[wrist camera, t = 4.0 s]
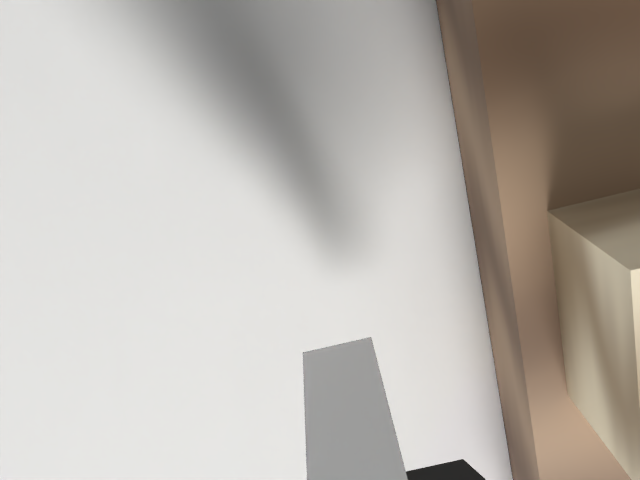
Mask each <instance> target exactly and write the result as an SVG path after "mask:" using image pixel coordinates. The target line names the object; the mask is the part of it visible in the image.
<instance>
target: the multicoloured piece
mask: <svg viewBox="0 0 640 480" xmlns="http://www.w3.org/2000/svg"><path fill="white" fill-rule="evenodd" d="M436 3H437V9H438V15H439V21H440V28H441V34H442V40H443V46H444V53H445V59H446V65H447V71H448V77H449V84H450V90H451V96H452V102H453V108H454V115H455V121H456V127H457V133H458V140H459V146H460V152H461V158H462V164H463V171H464V177H465V183H466V189H467V195H468V202H469V208H470V214H471V220H472V227H473V233H474V239H475V245H476V251H477V258H478V264H479V270H480V276H481V283H482V289H483V295H484V301H485V307H486V314H487V320H488V326H489V332H490V338H491V345H492V351H493V357H494V363H495V370H496V376H497V382H498V388H499V394H500V401H501V407H502V413H503V419H504V425H505V432H506V438H507V444H508V450H509V457H510V463H511V469H512V475H513V480H632V479H631V478H630V477H629V476H628V474H627V473H626V472H625V470H624V469H623V468H622V466H621V465H620V464H619V462H618V461H617V460H616V458H615V457H614V456H613V454H612V453H611V452H610V450H609V449H608V448H607V446H606V445H605V444H604V442H603V441H602V440H601V438H600V437H599V436H598V434H597V433H596V432H595V430H594V429H593V428H592V426H591V425H590V424H589V422H588V421H587V420H586V418H585V417H584V416H583V414H582V413H581V412H580V410H579V409H578V408H577V407H576V405H575V404H574V403H573V401H572V400H571V399H570V397H569V396H568V391H567V382H566V373H565V364H564V356H563V347H562V338H561V330H560V321H559V312H558V303H557V295H556V286H555V277H554V268H553V260H552V251H551V242H550V233H549V225H548V216H547V211H549V210H553V209H557V208H561V207H565V206H569V205H574V204H578V203H582V202H586V201H590V200H594V199H599V198H603V197H607V196H611V195H615V194H619V193H624V192H628V191H632V190H636V189H640V0H436Z"/></svg>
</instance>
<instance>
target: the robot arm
mask: <svg viewBox="0 0 640 480" xmlns="http://www.w3.org/2000/svg"><path fill="white" fill-rule="evenodd" d="M303 374H304V404H305V434H306V464H307V480H485V478H483V477H482V476H481V475H480V474H479V473H478V472H477V471H476V470H474V469H473V468H472V467H471V466H470V465H469V464H468V463H467V462H466V461H464V460H463V459H462V460H457V461H453V462H448V463H443V464H439V465H434V466H430V467H425V468H421V469H416V470H411V471H407V472H406V471H405V467H404V463H403V459H402V455H401V452H400V448H399V444H398V440H397V436H396V432H395V428H394V424H393V420H392V417H391V413H390V409H389V405H388V401H387V397H386V393H385V389H384V386H383V382H382V378H381V374H380V370H379V366H378V362H377V358H376V354H375V351H374V347H373V343H372V339H371V337H369V338H365V339H361V340H356V341H352V342H347V343H343V344H339V345H334V346H330V347H325V348H321V349H317V350H312V351H308V352H303Z"/></svg>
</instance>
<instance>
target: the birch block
mask: <svg viewBox="0 0 640 480" xmlns="http://www.w3.org/2000/svg"><path fill="white" fill-rule="evenodd" d="M547 216H548V225H549V233H550V242H551V251H552V260H553V268H554V277H555V286H556V295H557V303H558V312H559V321H560V330H561V338H562V347H563V356H564V364H565V373H566V382H567V391H568V396H569V397H570V399H571V400H572V401H573V403H574V404H575V405H576V407H577V408H578V409H579V410H580V412H581V413H582V414H583V416H584V417H585V418H586V420H587V421H588V422H589V424H590V425H591V426H592V428H593V429H594V430H595V432H596V433H597V434H598V436H599V437H600V438H601V440H602V441H603V442H604V444H605V445H606V446H607V448H608V449H609V450H610V452H611V453H612V454H613V456H614V457H615V458H616V460H617V461H618V462H619V464H620V465H621V466H622V468H623V469H624V470H625V472H626V473H627V474H628V476H629V477H630V478H631V479H632V480H640V189H636V190H632V191H628V192H624V193H619V194H615V195H611V196H607V197H603V198H599V199H594V200H590V201H586V202H582V203H578V204H574V205H569V206H565V207H561V208H557V209H553V210H549V211H547Z"/></svg>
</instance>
